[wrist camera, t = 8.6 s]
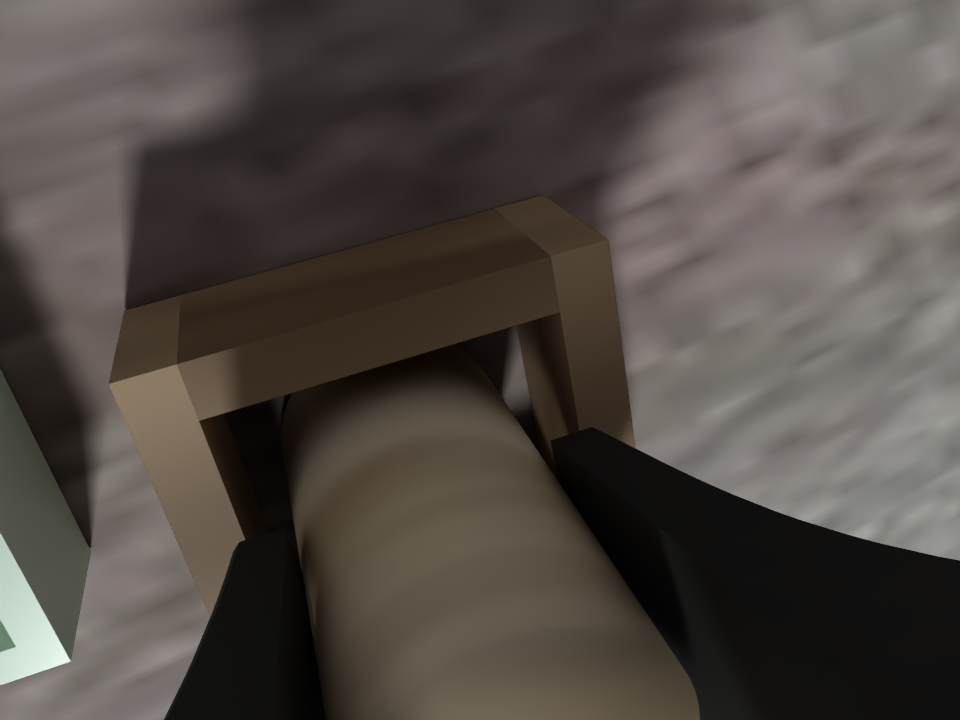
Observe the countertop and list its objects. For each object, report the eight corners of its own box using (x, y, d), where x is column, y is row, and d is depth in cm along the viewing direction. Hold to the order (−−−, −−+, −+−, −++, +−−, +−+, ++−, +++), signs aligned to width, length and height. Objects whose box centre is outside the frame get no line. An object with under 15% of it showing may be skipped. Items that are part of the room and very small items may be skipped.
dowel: (513, 483, 16) (713, 820, 10) (317, 550, 15) (395, 955, 9) (473, 300, 14) (682, 570, 8) (251, 369, 14) (291, 716, 7)
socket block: (596, 522, 17) (656, 607, 14) (258, 639, 16) (268, 750, 13) (542, 195, 14) (607, 239, 12) (125, 310, 13) (108, 383, 10)
